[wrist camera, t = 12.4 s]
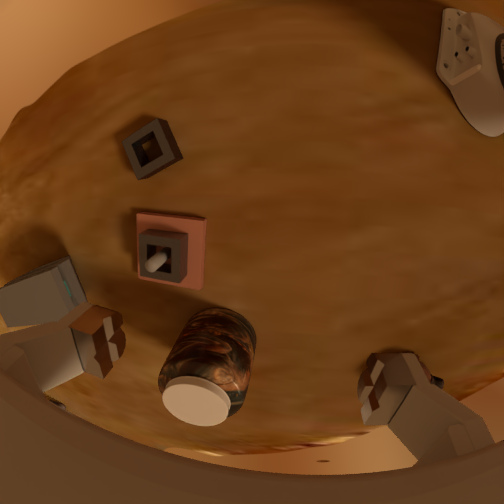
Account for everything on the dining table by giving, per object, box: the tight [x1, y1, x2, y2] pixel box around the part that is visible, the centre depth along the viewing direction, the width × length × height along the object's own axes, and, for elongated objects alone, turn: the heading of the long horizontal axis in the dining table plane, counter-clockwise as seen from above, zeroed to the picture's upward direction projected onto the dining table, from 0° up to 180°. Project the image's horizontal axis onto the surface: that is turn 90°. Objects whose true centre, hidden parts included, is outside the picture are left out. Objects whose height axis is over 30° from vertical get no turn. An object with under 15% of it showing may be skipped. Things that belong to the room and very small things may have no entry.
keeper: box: [137, 212, 207, 290], centre depth 36 cm, size 10×10×7 cm
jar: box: [158, 308, 256, 426], centre depth 36 cm, size 12×12×15 cm
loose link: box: [122, 118, 183, 180], centre depth 34 cm, size 6×6×3 cm
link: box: [139, 228, 188, 283], centre depth 36 cm, size 6×6×3 cm
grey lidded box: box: [0, 256, 88, 327], centre depth 40 cm, size 25×8×11 cm, turn 106°
